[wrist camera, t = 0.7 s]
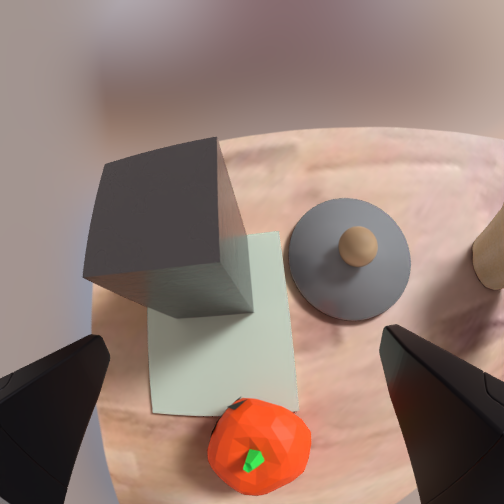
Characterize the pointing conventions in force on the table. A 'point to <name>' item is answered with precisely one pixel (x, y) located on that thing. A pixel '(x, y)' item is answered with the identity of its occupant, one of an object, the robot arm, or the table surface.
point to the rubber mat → (228, 347)
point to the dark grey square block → (171, 233)
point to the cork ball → (358, 246)
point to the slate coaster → (338, 271)
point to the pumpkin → (258, 446)
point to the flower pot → (490, 253)
